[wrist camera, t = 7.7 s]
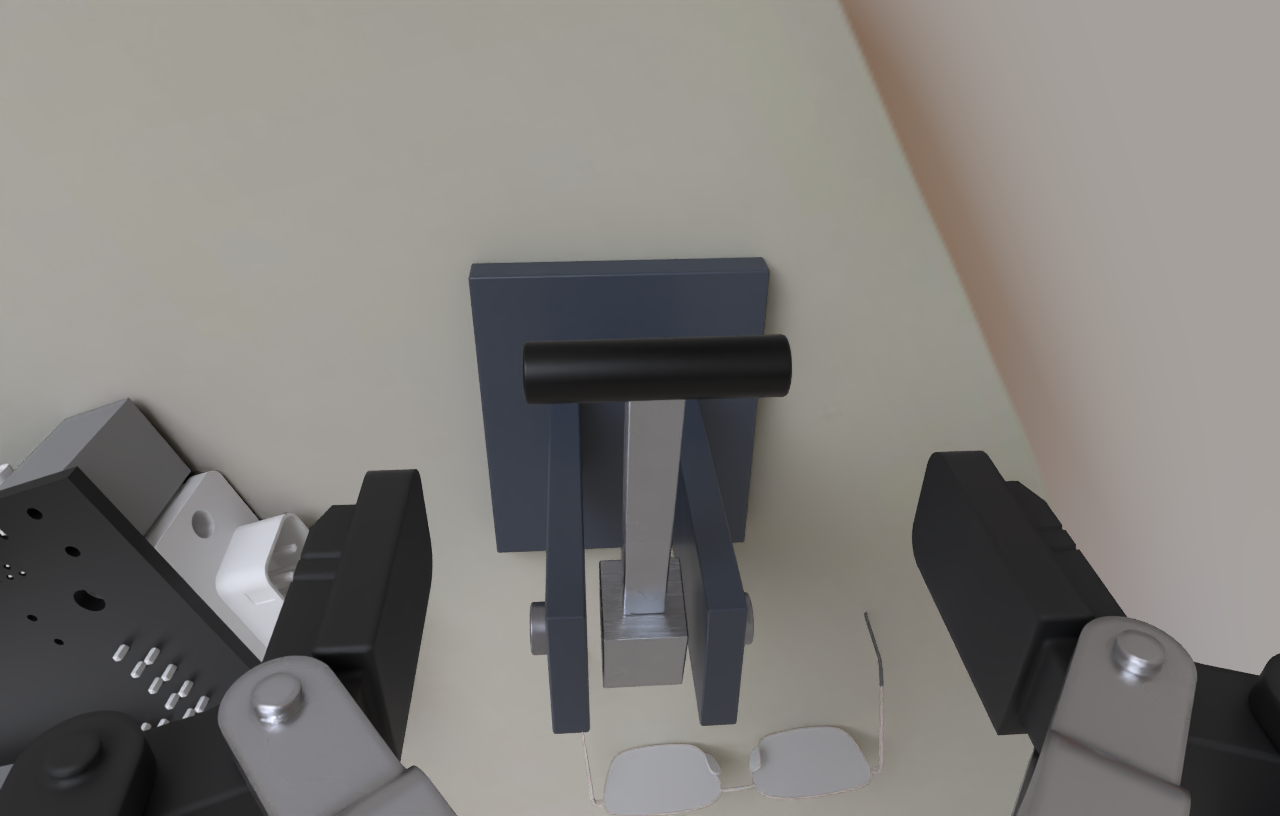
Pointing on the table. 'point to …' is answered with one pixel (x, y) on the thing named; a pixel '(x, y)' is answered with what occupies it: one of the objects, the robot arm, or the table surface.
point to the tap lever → (650, 469)
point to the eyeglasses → (777, 764)
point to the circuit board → (128, 580)
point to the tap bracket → (618, 454)
